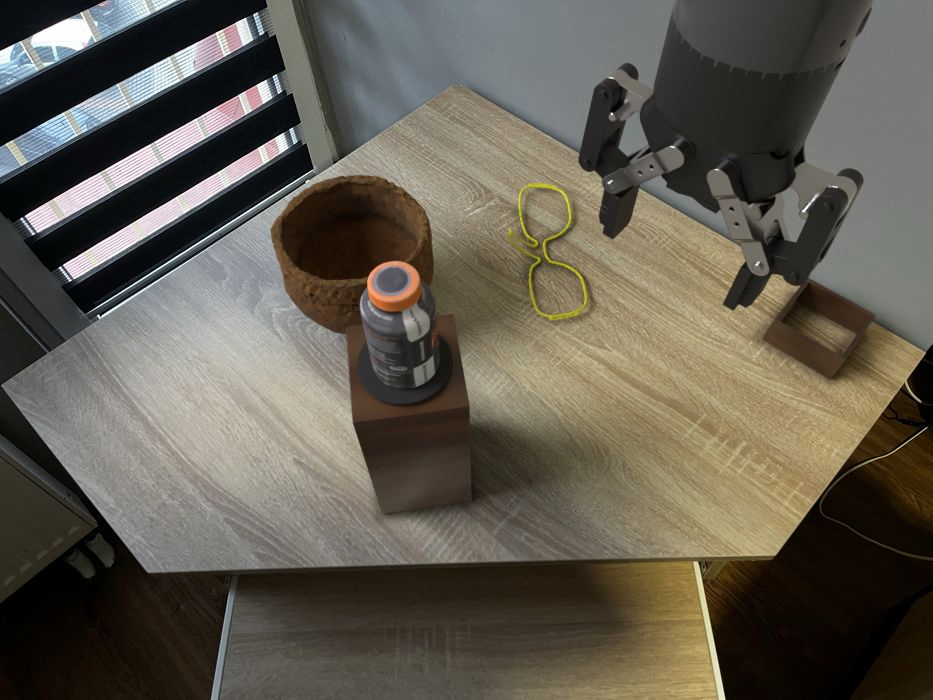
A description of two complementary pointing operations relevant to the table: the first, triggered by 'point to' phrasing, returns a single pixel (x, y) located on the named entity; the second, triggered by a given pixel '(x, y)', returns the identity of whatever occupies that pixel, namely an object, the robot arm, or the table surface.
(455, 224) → the table surface
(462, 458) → the stand
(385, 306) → the pill bottle
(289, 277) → the bowl
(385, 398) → the coaster
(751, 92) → the robot arm
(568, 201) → the glasses
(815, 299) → the brown wooden square box
